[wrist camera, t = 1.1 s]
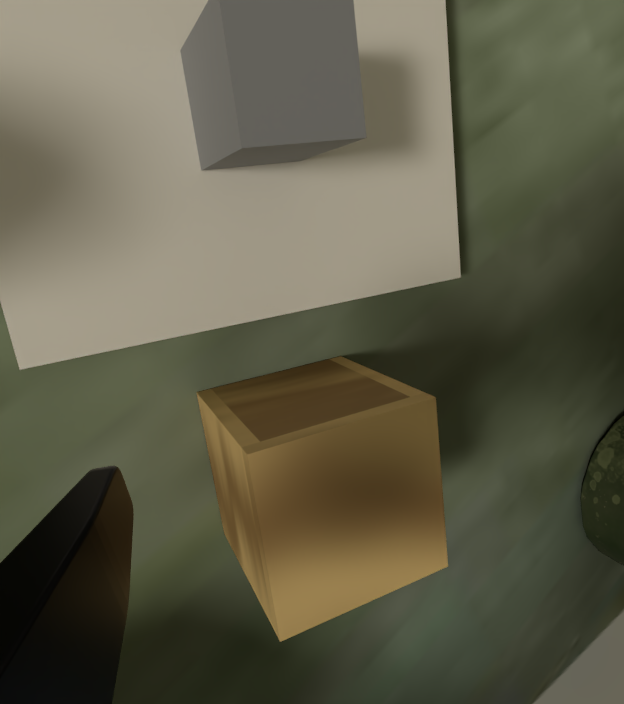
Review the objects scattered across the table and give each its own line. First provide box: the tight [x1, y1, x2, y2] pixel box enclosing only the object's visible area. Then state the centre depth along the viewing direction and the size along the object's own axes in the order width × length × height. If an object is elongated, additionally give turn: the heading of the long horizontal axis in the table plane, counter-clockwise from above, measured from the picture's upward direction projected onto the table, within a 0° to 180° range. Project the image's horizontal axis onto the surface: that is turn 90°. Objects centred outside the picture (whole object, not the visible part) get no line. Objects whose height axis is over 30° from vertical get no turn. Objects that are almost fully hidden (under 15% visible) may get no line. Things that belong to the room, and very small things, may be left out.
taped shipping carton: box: [197, 356, 448, 642], centre depth 20 cm, size 7×7×7 cm
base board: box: [0, 0, 461, 370], centre depth 17 cm, size 15×18×6 cm
